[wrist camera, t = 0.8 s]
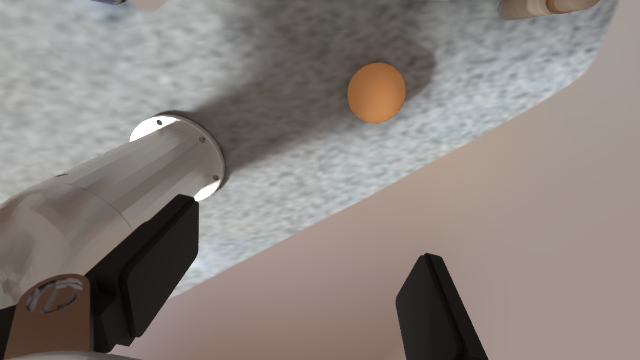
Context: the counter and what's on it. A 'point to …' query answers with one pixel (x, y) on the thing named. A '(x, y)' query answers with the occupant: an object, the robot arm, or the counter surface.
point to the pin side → (540, 7)
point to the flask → (110, 1)
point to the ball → (376, 92)
